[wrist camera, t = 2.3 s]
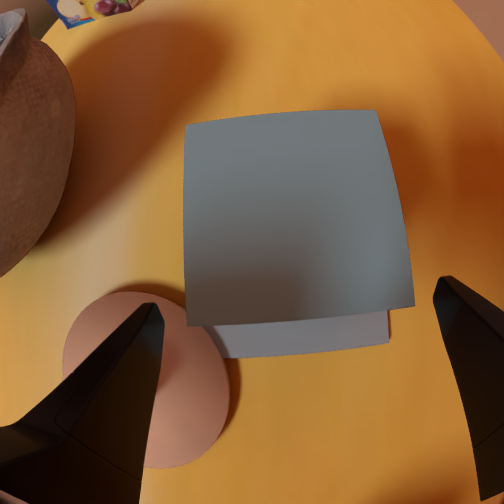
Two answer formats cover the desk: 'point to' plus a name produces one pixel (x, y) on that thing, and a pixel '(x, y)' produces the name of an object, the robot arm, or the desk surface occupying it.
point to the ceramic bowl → (31, 136)
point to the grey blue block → (291, 219)
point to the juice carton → (88, 10)
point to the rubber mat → (300, 336)
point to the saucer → (165, 376)
